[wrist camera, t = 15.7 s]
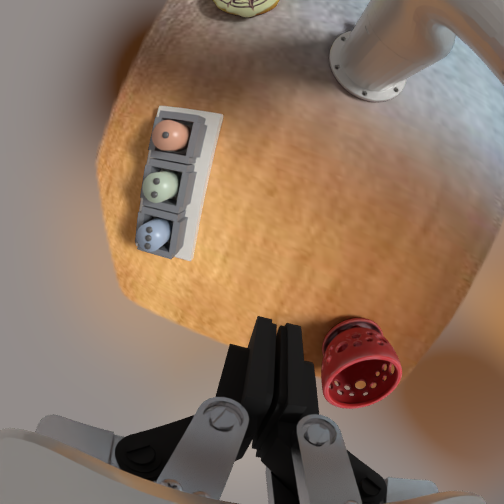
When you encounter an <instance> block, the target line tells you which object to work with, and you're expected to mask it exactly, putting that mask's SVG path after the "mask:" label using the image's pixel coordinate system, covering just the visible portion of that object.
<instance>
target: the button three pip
mask: <svg viewBox="0 0 504 504" xmlns="http://www.w3.org/2000/svg"><path fill="white" fill-rule="evenodd" d="M172 228H173V222H172V221H171V220H168V219H164V218H160V217H156V218H155V219H153V220H151V221H149V222H147V223H145V224H143V225H142V226H140V227H139V229H138V230H137V234H136V238H137V242H138V244H139V246H140V247H141V248H142V249H144V250H145V251H148V252H153V251H156V250H157V249H159V248H160V247H161V246H162V245H164V244H165V243H166V242H167V241H169V240H170V239H171V235H172Z"/></svg>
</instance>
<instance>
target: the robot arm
mask: <svg viewBox="0 0 504 504" xmlns="http://www.w3.org/2000/svg"><path fill="white" fill-rule="evenodd" d="M456 35H457V36H458V37H459V38H460V39H461V40H462V41H463V42H464V43H465V44H467V45H468V46H469V47H470V48H471V49H472V50H473V51H474V52H475V53H476V54H477V56H478V57H479V58H480V59H481V60H482V61H483V62H484V63H485V64H486V65H487V67H488V68H489V69H490V70H491V71H492V72H493V74H494V75H495V76H496V77H497V78H498V79H499V81H500V82H501V83H502V84H503V86H504V0H370V2H369V4H368V5H367V7H366V9H365V10H364V12H363V14H362V15H361V17H360V19H359V20H358V22H357V24H356V26H355V27H354V29H353V31H349V32H346V33H344V34H342V35H340V36H339V37H338V38H337V39H336V40H335V41H334V43H333V44H332V46H331V49H330V53H329V63H330V67H331V70H332V72H333V75H334V76H335V78H336V79H337V81H338V82H339V83H340V84H341V85H342V86H343V87H344V88H345V89H346V90H347V91H348V92H350V93H351V94H353V95H354V96H356V97H358V98H361V99H363V100H367V101H371V102H384V101H388V100H390V99H393V98H394V97H396V96H398V95H399V94H400V93H401V92H402V90H403V89H404V87H405V84H406V80H407V78H409V77H411V76H412V75H414V74H416V73H418V72H420V71H421V70H423V69H425V68H427V67H429V66H431V65H433V64H434V63H436V62H438V61H440V60H442V59H443V58H445V57H446V56H447V55H448V54H449V53H450V51H451V50H452V48H453V45H454V43H455V37H456ZM342 40H343V41H342ZM335 68H338V70H337V69H335ZM394 90H395V92H394ZM362 93H363V94H364V96H363V95H362ZM276 328H277V325H276V324H273V323H272V319H268V318H264V317H260V316H258V317H257V320H256V323H255V326H254V329H253V333H252V336H251V339H250V342H249V345H248V348H245V347H241V346H237V345H233V344H230V346H229V349H228V353H227V357H226V360H225V364H224V368H223V371H222V375H221V379H220V382H219V386H218V389H217V393H216V397H214V398H210V399H208V400H206V401H204V402H203V403H202V404H201V406H200V407H199V408H198V410H197V412H196V414H195V415H193V416H190V417H187V418H185V419H182V420H178V421H175V422H172V423H170V424H166V425H163V426H160V427H156V428H153V429H150V430H146V431H143V432H139V433H136V434H132V435H129V436H126V437H123V436H118V435H114V432H112V431H108V430H104V429H100V428H97V427H93V426H89V425H86V424H83V423H80V422H77V421H73V420H71V419H68V418H65V417H62V416H58V415H48V416H45V417H44V418H42V419H41V421H40V422H39V424H38V426H37V429H36V431H35V432H31V431H27V430H22V429H15V428H8V429H2V430H0V504H237V503H231V502H225V501H220V500H219V499H220V497H221V494H222V492H223V490H224V487H225V485H226V482H227V480H228V477H229V475H230V472H231V470H232V467H233V464H234V462H235V461H236V460H239V459H241V458H242V457H243V455H244V454H245V452H246V450H247V448H248V447H249V445H250V443H251V441H252V439H253V442H252V448H253V449H257V452H256V457H261V461H262V462H263V463H264V464H265V465H266V481H267V492H268V502H269V504H487V503H486V501H485V500H484V499H483V498H482V497H481V496H480V495H478V494H475V493H471V492H465V491H446V492H438V488H437V486H436V485H435V483H433V482H432V481H429V480H417V479H403V478H392V477H388V478H386V479H383V478H382V477H381V476H380V475H379V474H378V473H376V472H375V471H374V470H372V469H371V468H370V467H368V466H367V465H365V464H364V463H363V462H362V461H360V460H359V459H358V458H356V457H355V456H354V455H353V454H351V453H350V452H349V451H348V450H346V447H345V444H344V440H343V437H342V434H341V431H340V429H339V427H338V425H337V424H336V423H335V422H334V421H333V420H331V419H330V418H328V417H325V416H322V415H319V408H318V398H317V388H316V379H315V370H314V364H313V363H312V362H308V361H304V354H303V343H302V331H301V326H298V325H293V324H289V323H286V325H285V326H280V327H279V330H278V332H277V335H276Z"/></svg>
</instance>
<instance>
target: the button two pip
mask: <svg viewBox="0 0 504 504" xmlns="http://www.w3.org/2000/svg"><path fill="white" fill-rule="evenodd" d="M180 182H181V176H180V175H179V174H178V173H177V172H175V171H163V172H156V173H151V174H149V175H148V176H147V177H146V178H145V180H144V182H143V187H142V188H143V193H144V196H145V197H146V198H147V199H148V200H149V201H150V202H153V203H159V202H162V201H165V200H167V199H170V198H172V197H175V196H177V195H178V193H179V187H180Z"/></svg>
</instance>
